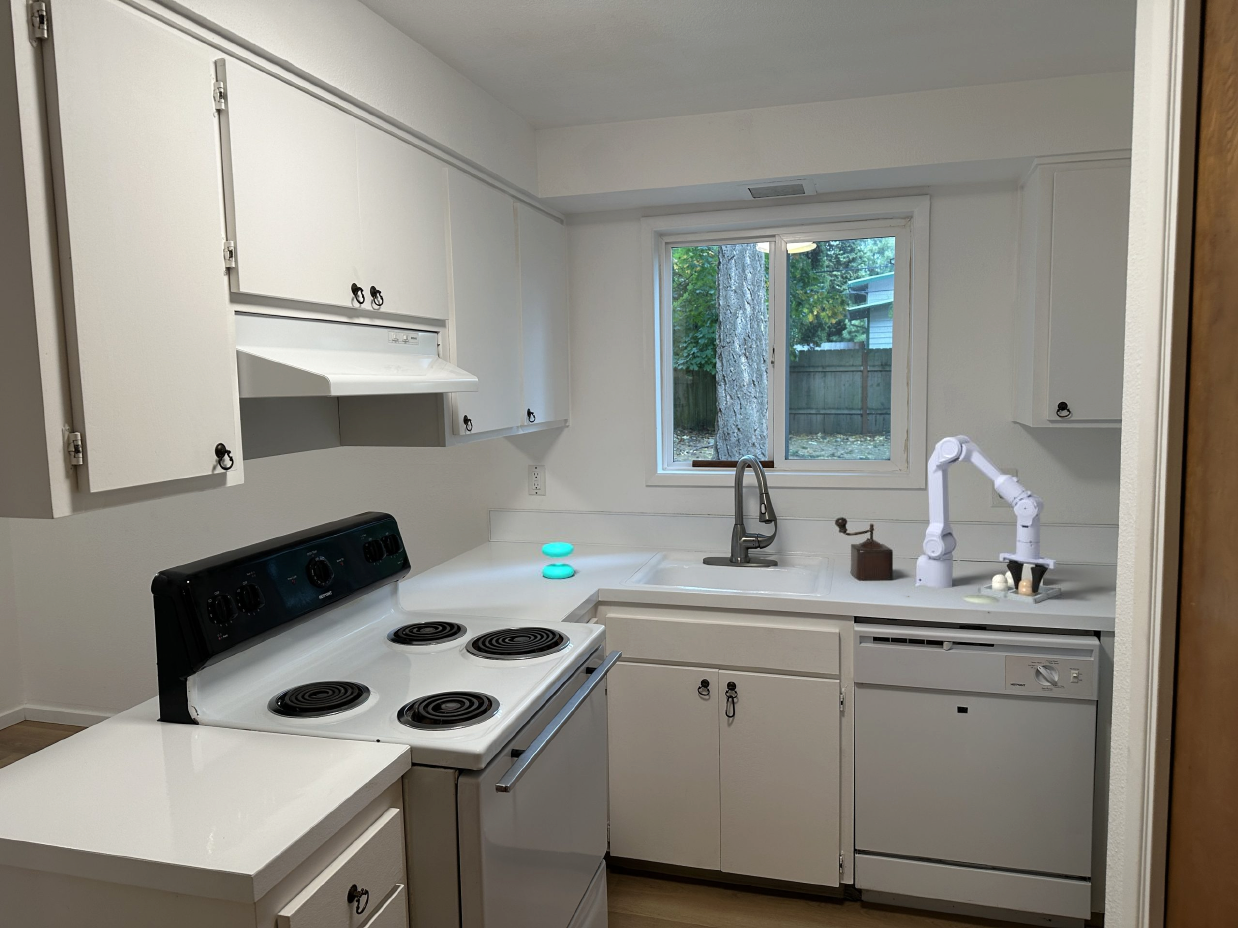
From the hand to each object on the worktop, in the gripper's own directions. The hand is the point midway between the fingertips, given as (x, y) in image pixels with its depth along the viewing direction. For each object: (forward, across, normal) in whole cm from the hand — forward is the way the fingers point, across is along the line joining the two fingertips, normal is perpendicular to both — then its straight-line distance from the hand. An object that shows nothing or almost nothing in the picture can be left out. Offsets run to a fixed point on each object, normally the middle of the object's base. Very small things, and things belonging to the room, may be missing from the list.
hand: (1026, 590), depth 234 cm
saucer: (+3, +8, +10) cm, 13 cm away
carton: (+3, +4, -4) cm, 6 cm away
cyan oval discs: (+3, +113, +74) cm, 135 cm away
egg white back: (+2, +7, -7) cm, 11 cm away
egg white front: (+2, +7, 0) cm, 8 cm away
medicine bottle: (+3, +8, -17) cm, 19 cm away
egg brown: (+2, 0, 0) cm, 2 cm away
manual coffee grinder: (+3, +47, +7) cm, 47 cm away
